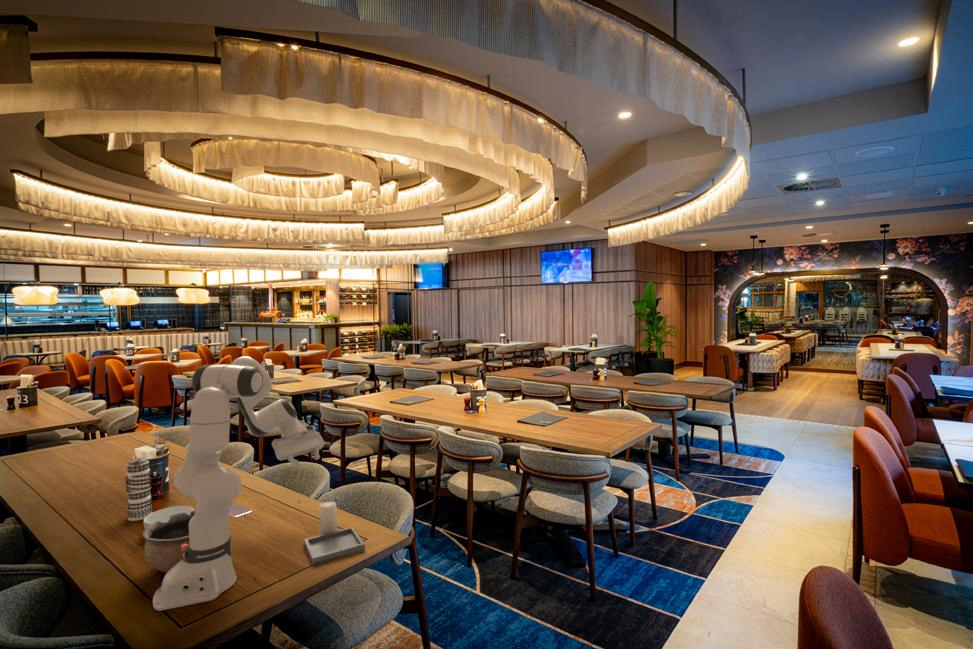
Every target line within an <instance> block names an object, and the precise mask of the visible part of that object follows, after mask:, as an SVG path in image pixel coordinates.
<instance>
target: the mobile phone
mask: <svg viewBox="0 0 973 649" xmlns="http://www.w3.org/2000/svg"><path fill="white" fill-rule="evenodd" d="M251 513H253V510H251V509H250V508H248V507H246V506H243V505H242V504H241V503H237V502H236V503H233V504H231V507H230V512H229V516H231V517H232V518H235V519H237V518H240V517H242V516H245V515H248V514H251Z"/></svg>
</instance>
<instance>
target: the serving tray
mask: <svg viewBox="0 0 973 649" xmlns="http://www.w3.org/2000/svg"><path fill="white" fill-rule="evenodd" d="M303 543H304V548H305V550H306V552H307V555H308V558H309V559H310V562H311V565H312V564H313V565H314V566H317V565H320V564H325V563H326V562H330V561H335V560H338V559H340V558H344V557H347V556H351V555H354V554H359V553H362V552H365V551H366V547H365V545H366V544H365V542H364V541H363V539H362V538H361V537H360V535H359V533H358V532H357V531H356V529H355V528H354V527H353V526H351V527H347V528H343V529H337V531H335V532H331V533H327V534H323V535H320V534H319V535H316V536H312V537H308V538H304V542H303ZM313 565H312V566H313Z"/></svg>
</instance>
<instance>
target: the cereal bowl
mask: <svg viewBox="0 0 973 649" xmlns="http://www.w3.org/2000/svg"><path fill="white" fill-rule="evenodd" d="M192 511H195V509H194V508H193V507H191V506H189V505H176V506H170V507H165V508H161V509H159V510H156V511H152V513H151V514H149V515H148V516H146V517H145V518H144V519H143V527H144V530H145V529H146V528H147V527H148V526H149V525H151V524H152V523H154V522H156V521H160V522H163V523H165V522H168V521H169V520H170V516H172V515H176V514H179V513H187V514H189V515H190V512H192Z"/></svg>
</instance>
